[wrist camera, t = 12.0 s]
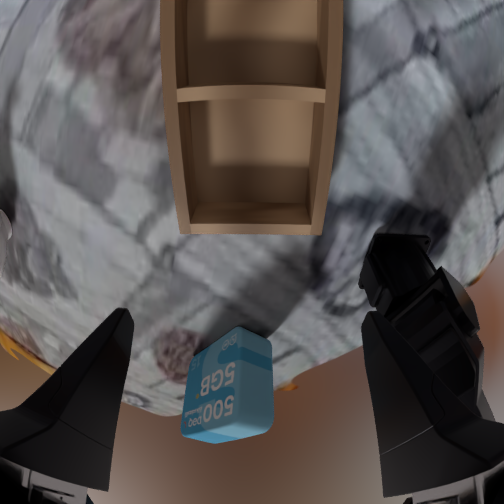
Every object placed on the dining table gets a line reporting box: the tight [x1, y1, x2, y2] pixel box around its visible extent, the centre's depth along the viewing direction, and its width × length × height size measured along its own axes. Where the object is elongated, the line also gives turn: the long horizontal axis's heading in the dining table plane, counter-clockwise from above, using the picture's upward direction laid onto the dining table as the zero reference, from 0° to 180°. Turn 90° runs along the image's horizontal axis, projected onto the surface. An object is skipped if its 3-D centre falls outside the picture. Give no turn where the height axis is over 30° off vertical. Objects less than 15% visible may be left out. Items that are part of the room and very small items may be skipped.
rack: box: [160, 0, 343, 235], centre depth 12 cm, size 10×27×4 cm, turn 0°
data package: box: [181, 327, 274, 443], centre depth 29 cm, size 12×4×12 cm, turn 140°
